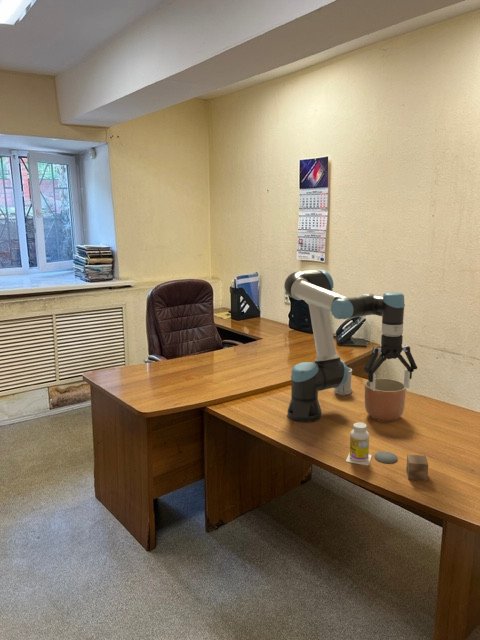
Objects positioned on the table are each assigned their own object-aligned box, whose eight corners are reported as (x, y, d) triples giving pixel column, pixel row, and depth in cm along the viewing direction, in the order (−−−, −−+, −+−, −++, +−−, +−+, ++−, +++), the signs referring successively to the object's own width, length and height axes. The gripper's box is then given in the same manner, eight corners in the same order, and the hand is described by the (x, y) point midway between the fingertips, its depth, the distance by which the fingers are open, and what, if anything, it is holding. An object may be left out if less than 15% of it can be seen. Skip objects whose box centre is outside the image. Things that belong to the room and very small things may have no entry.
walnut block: (408, 479, 156) (409, 463, 155) (406, 470, 162) (407, 454, 160) (427, 481, 155) (428, 464, 153) (424, 471, 160) (425, 455, 159)
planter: (362, 408, 214) (363, 377, 211) (401, 410, 211) (403, 378, 207) (364, 424, 198) (365, 390, 195) (406, 427, 194) (408, 392, 191)
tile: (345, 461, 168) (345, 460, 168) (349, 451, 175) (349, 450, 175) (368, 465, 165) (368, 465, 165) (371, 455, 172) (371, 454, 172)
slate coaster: (373, 460, 168) (373, 459, 168) (376, 450, 175) (376, 449, 175) (396, 465, 165) (396, 464, 165) (398, 454, 172) (398, 453, 172)
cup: (333, 387, 241) (333, 365, 239) (351, 388, 240) (351, 365, 238) (334, 395, 231) (334, 372, 229) (352, 395, 230) (353, 372, 227)
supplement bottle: (347, 453, 173) (348, 421, 170) (364, 452, 174) (365, 420, 171) (353, 462, 167) (353, 429, 164) (371, 461, 167) (372, 428, 164)
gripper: (363, 338, 168) (362, 394, 172) (428, 334, 171) (425, 389, 176) (356, 333, 175) (354, 387, 180) (418, 330, 178) (415, 382, 183)
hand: (389, 388), depth 178 cm, fingers open, 13 cm apart
